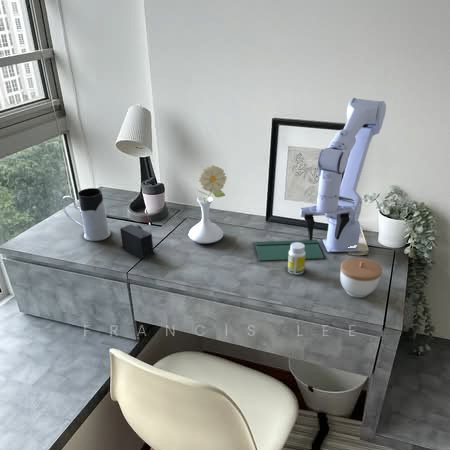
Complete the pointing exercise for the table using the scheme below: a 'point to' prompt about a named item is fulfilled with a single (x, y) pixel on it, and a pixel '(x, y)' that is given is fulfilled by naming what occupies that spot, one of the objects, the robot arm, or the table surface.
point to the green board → (286, 250)
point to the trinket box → (360, 276)
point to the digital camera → (137, 240)
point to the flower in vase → (206, 229)
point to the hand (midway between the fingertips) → (323, 238)
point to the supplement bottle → (296, 258)
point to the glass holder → (91, 214)
